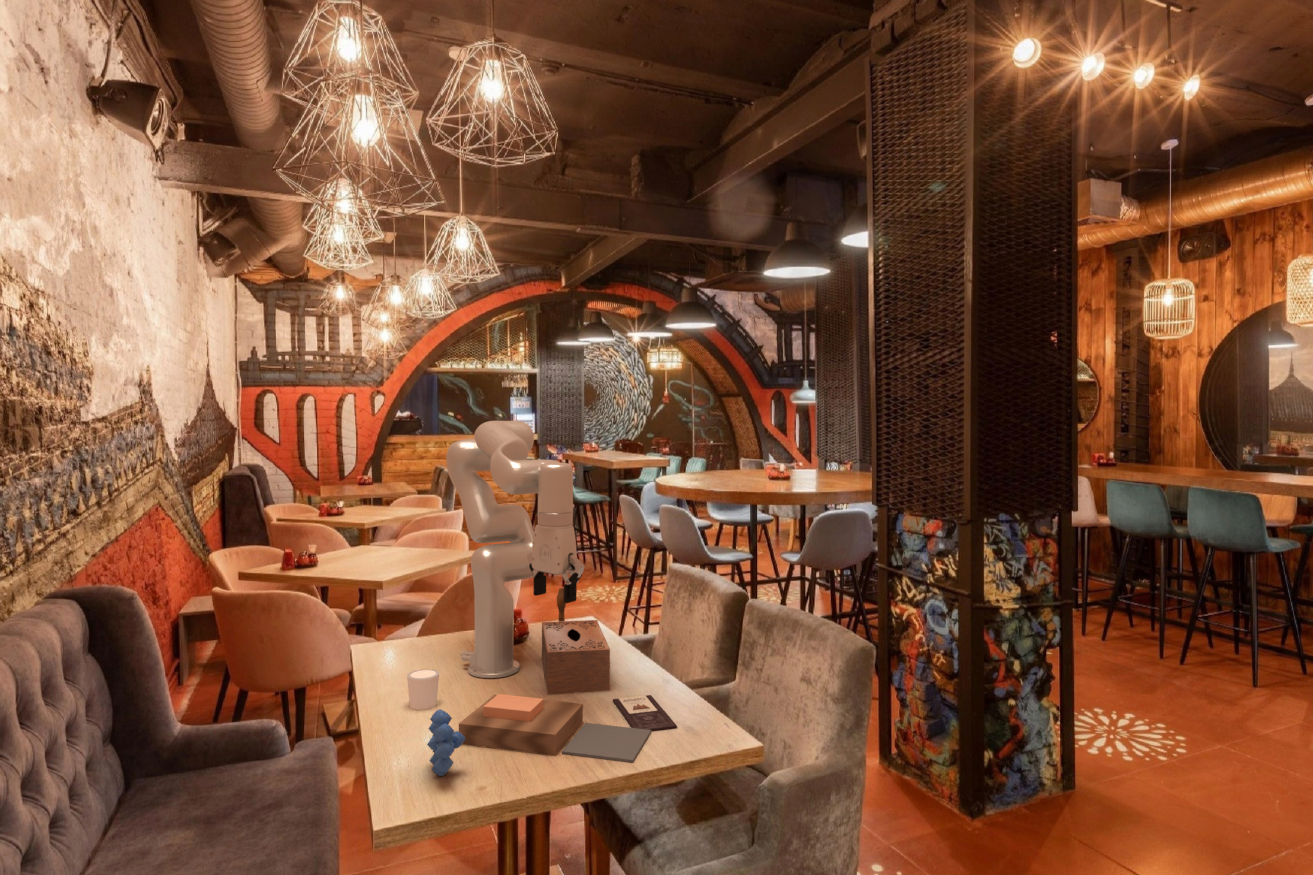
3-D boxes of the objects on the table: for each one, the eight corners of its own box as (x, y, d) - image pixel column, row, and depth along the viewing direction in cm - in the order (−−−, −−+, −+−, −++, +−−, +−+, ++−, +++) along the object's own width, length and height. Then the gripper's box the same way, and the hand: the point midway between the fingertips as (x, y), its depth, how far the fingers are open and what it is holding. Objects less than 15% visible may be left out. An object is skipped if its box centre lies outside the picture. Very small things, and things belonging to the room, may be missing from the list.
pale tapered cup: (445, 701, 172) (445, 670, 172) (427, 712, 166) (427, 680, 166) (419, 697, 174) (419, 667, 174) (400, 708, 168) (400, 676, 168)
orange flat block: (483, 716, 154) (483, 706, 154) (498, 703, 161) (498, 694, 161) (529, 721, 152) (530, 711, 152) (543, 708, 159) (543, 698, 159)
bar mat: (561, 753, 147) (561, 751, 147) (585, 725, 160) (585, 722, 160) (632, 762, 143) (632, 759, 143) (651, 732, 157) (651, 729, 157)
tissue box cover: (541, 659, 203) (542, 622, 202) (596, 657, 206) (596, 619, 205) (547, 695, 177) (547, 652, 177) (609, 691, 180) (609, 649, 180)
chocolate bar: (635, 731, 156) (612, 699, 174) (635, 735, 156) (612, 703, 174) (677, 725, 159) (650, 694, 176) (677, 730, 159) (650, 699, 176)
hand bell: (542, 649, 211) (543, 591, 211) (551, 640, 219) (552, 584, 219) (572, 651, 210) (572, 592, 209) (580, 642, 218) (580, 586, 217)
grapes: (471, 785, 134) (472, 717, 134) (431, 792, 131) (431, 723, 131) (460, 757, 145) (460, 694, 144) (422, 763, 142) (422, 699, 142)
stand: (458, 743, 151) (458, 723, 150) (494, 712, 166) (494, 694, 166) (555, 755, 146) (555, 734, 146) (582, 722, 161) (582, 703, 161)
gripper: (516, 517, 170) (515, 594, 170) (569, 525, 159) (569, 608, 159) (542, 514, 176) (541, 589, 176) (595, 522, 164) (595, 601, 165)
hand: (554, 598), depth 168 cm, fingers open, 9 cm apart
